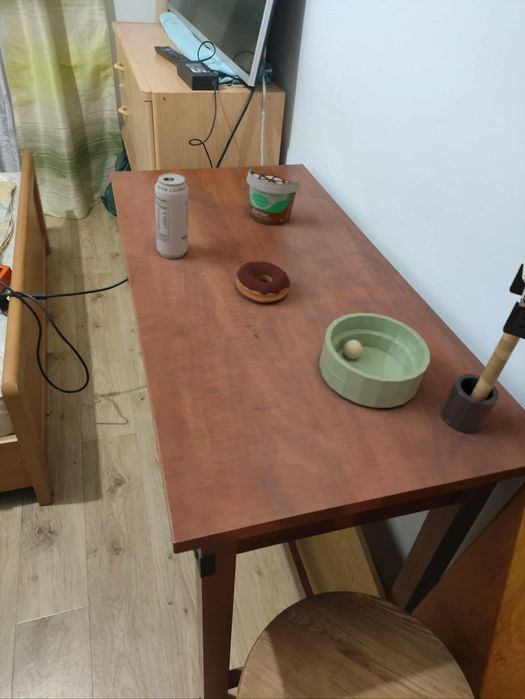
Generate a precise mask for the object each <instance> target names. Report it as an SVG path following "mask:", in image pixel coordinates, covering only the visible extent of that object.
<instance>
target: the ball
mask: <svg viewBox="0 0 525 699" xmlns="http://www.w3.org/2000/svg"><path fill="white" fill-rule="evenodd" d="M343 351H344V354H345V355H346V356H347V357H348V358H351V359H355V358H358V357H359V356H360V355H361V354H362V351H363V348H362V345H361V343H360V342H358V341H357V340H349V341H348V342H346V343H345V345H344V348H343Z"/></svg>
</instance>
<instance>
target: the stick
mask: <svg viewBox="0 0 525 699" xmlns="http://www.w3.org/2000/svg"><path fill="white" fill-rule="evenodd" d="M520 340H521V338H519V337H516V336H513V335H510V334H507V333H504V332H503V333H502V335H501V337H500V339H499V341H498V343H497V345H496V346H495V348H494V351H493V353H491V356H490V358H489V360H488V361H487V364H486V366H485V367H484V369H483V371H482V373H481V375H480V376H481V377H480V379H479V381H478V382H477V384H476V386H475V388H474V390H473V392H472V394H471V396H470V397H472V398H474V399H477V400H486V398H487V397H488V395H489V393H490V391H491V390H492V388H493V386H495V384H496V382H497V381H498V379H499V377H500V375H501V374H502V372H503V370H504V368H505V367H506V364H507V363H508V361H509V360H510V358H511V356H512V354H513V352H514V351H515V349H516V347H517V345H518V343H519V341H520Z"/></svg>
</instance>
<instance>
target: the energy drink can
mask: <svg viewBox="0 0 525 699" xmlns="http://www.w3.org/2000/svg"><path fill="white" fill-rule="evenodd" d="M154 207H155V208H154V210H155V212H154V213H155V238H156V249H157V251H158V252H159V254H160V255H161V256H162V257H163V258H166V259H179V258H182V257H183V256H184V255H185V254H186V252H187V251H188V249H189V246H188V244H189V186H188V185H187V183H186V178H185V177H184V176H183V175H181V174H177V173H170V172H169V173H168V172H167V173H163V174H160V175H158V176H157V181H156V183H155V185H154Z"/></svg>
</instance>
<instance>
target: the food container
mask: <svg viewBox="0 0 525 699" xmlns="http://www.w3.org/2000/svg"><path fill="white" fill-rule="evenodd" d="M246 183H247V184H248V185H249V216H250V218H251V219H252V220H253V221H254V222H256V223H258V224H261V225H266V226H280V225H284V224H286V223H287V222H289V221H290V217H291V213H292V210H293V206H294V202H295V198H296V195H297V192H298V191H299V190H301V182H300V179H297V180H295V181H290V180H288V179H284V178H282V177H280V176H277V175H274V174H264V173H260V172H255V171H253V166H251V167H250V168H249V170H248V172H247V175H246Z"/></svg>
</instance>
